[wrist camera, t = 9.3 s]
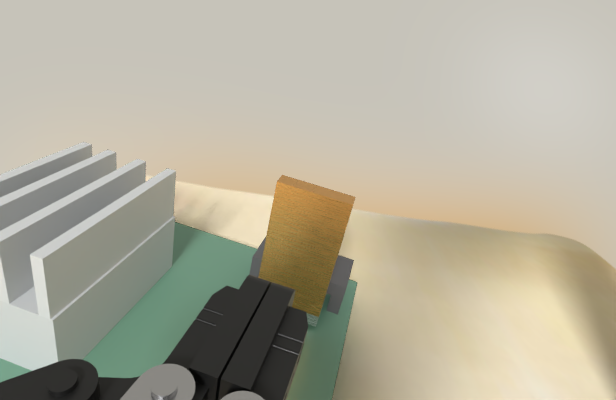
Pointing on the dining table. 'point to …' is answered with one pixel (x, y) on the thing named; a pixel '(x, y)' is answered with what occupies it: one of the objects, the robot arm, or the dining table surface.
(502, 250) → the dining table surface
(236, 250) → the heatsink board
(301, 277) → the upright wooden plank
